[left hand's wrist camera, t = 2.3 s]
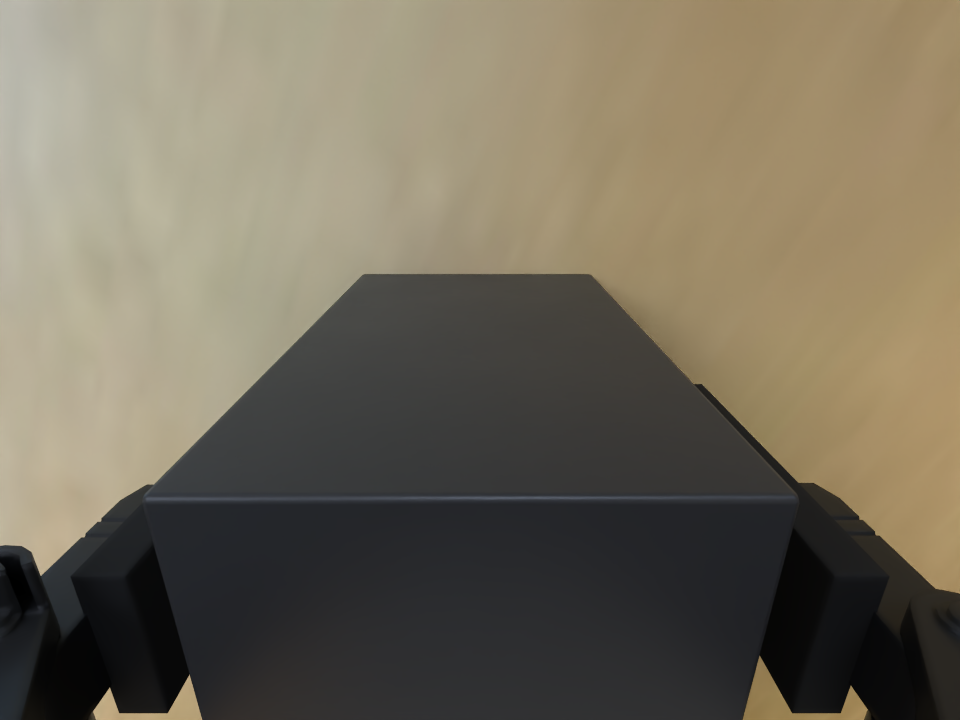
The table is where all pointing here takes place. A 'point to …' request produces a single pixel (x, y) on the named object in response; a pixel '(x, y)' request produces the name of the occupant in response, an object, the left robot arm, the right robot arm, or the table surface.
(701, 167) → the table surface
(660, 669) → the bar
